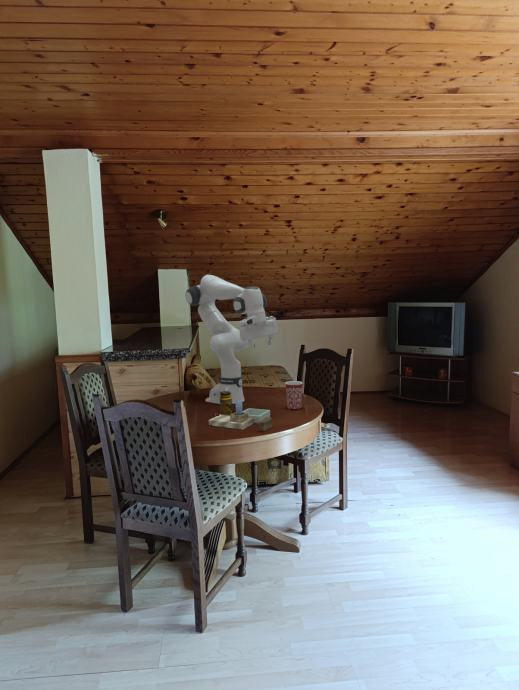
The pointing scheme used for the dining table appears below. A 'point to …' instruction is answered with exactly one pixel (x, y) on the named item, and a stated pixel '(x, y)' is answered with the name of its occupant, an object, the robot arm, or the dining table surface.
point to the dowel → (239, 407)
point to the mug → (294, 394)
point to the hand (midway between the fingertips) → (261, 346)
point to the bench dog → (265, 424)
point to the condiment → (225, 403)
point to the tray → (257, 414)
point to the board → (232, 421)
